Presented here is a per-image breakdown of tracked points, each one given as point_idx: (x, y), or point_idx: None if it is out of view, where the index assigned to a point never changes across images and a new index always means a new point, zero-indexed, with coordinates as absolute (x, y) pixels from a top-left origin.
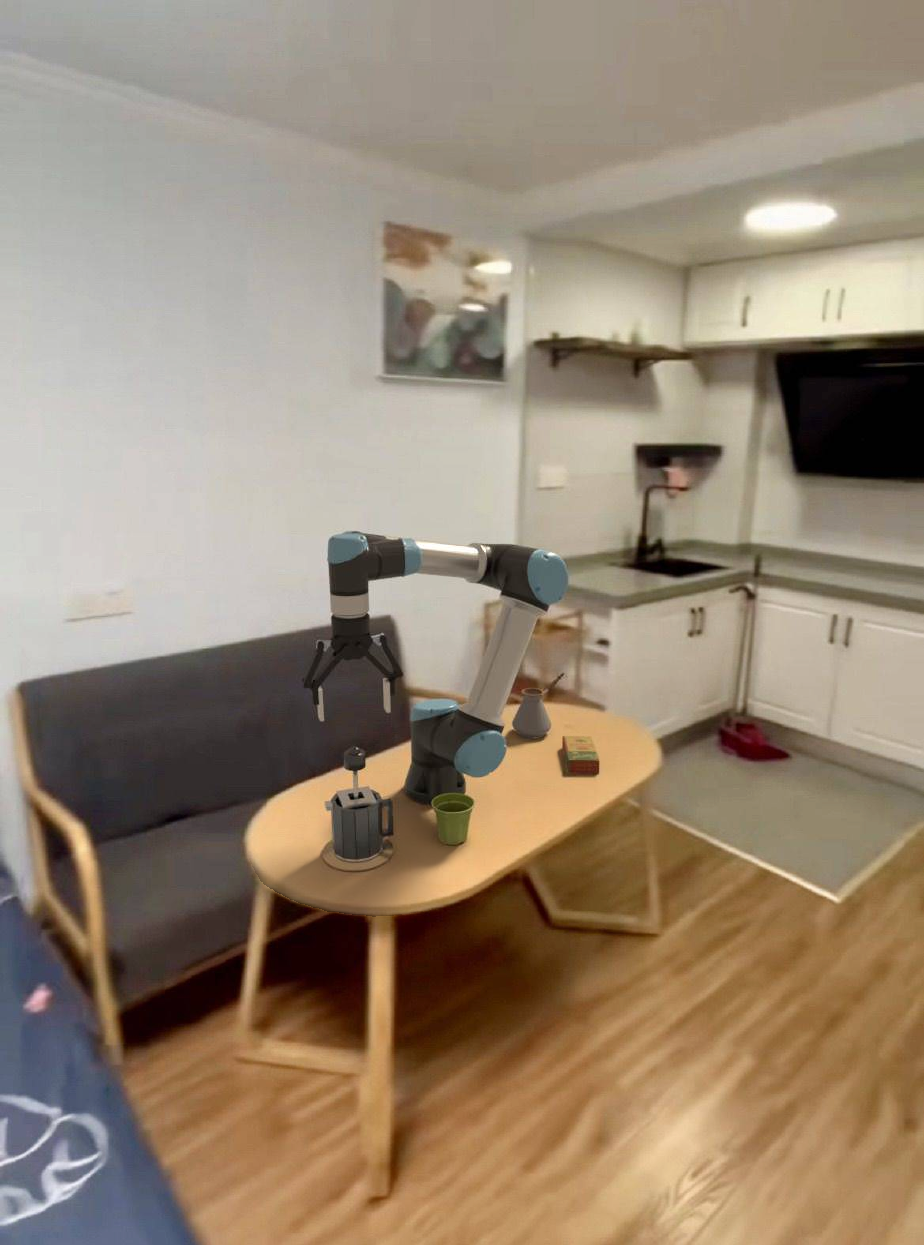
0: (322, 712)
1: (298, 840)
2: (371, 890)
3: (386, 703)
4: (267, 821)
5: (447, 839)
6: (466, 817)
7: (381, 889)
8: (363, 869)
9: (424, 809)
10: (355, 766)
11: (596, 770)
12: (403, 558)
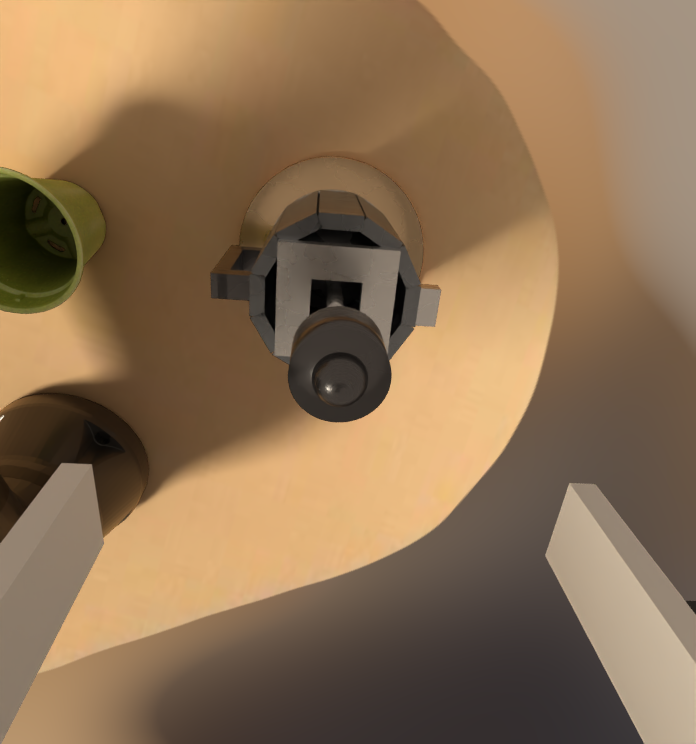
0: (610, 530)
1: (447, 362)
2: (352, 48)
3: (58, 523)
4: (483, 461)
5: (82, 193)
6: None
7: (325, 40)
8: (344, 158)
9: (116, 386)
10: (349, 313)
11: None
12: None
